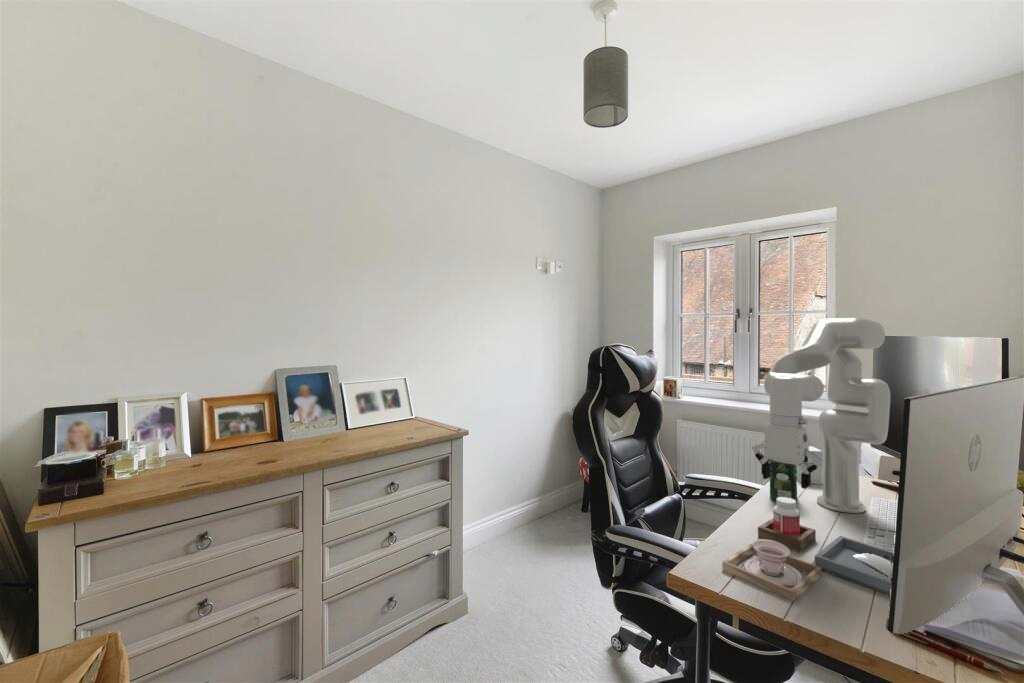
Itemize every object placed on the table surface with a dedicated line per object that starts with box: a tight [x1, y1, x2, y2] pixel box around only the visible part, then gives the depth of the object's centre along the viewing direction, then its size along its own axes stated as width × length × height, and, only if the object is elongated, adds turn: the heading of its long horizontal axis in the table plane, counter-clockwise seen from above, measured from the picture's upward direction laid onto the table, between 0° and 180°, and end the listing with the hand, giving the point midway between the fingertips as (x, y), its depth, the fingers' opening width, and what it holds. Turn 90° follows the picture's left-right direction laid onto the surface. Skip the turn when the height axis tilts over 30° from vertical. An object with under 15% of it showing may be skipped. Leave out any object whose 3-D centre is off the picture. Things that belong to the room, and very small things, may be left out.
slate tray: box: [814, 535, 894, 597], centre depth 104 cm, size 17×17×3 cm
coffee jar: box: [769, 460, 798, 502], centre depth 148 cm, size 10×8×19 cm
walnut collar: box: [757, 518, 817, 553], centre depth 120 cm, size 10×10×3 cm
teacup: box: [743, 538, 803, 587], centre depth 104 cm, size 12×12×6 cm
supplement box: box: [797, 446, 823, 485], centre depth 165 cm, size 7×7×13 cm
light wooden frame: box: [721, 542, 823, 602], centre depth 104 cm, size 16×16×2 cm
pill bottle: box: [772, 497, 801, 538], centre depth 120 cm, size 6×6×11 cm
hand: (785, 482), depth 120 cm, fingers open, 9 cm apart
